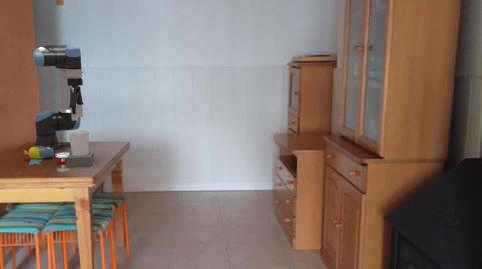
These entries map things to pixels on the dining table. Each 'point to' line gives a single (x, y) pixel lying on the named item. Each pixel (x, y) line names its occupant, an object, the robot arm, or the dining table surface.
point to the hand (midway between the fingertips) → (77, 118)
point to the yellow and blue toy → (39, 154)
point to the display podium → (80, 160)
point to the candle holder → (79, 143)
